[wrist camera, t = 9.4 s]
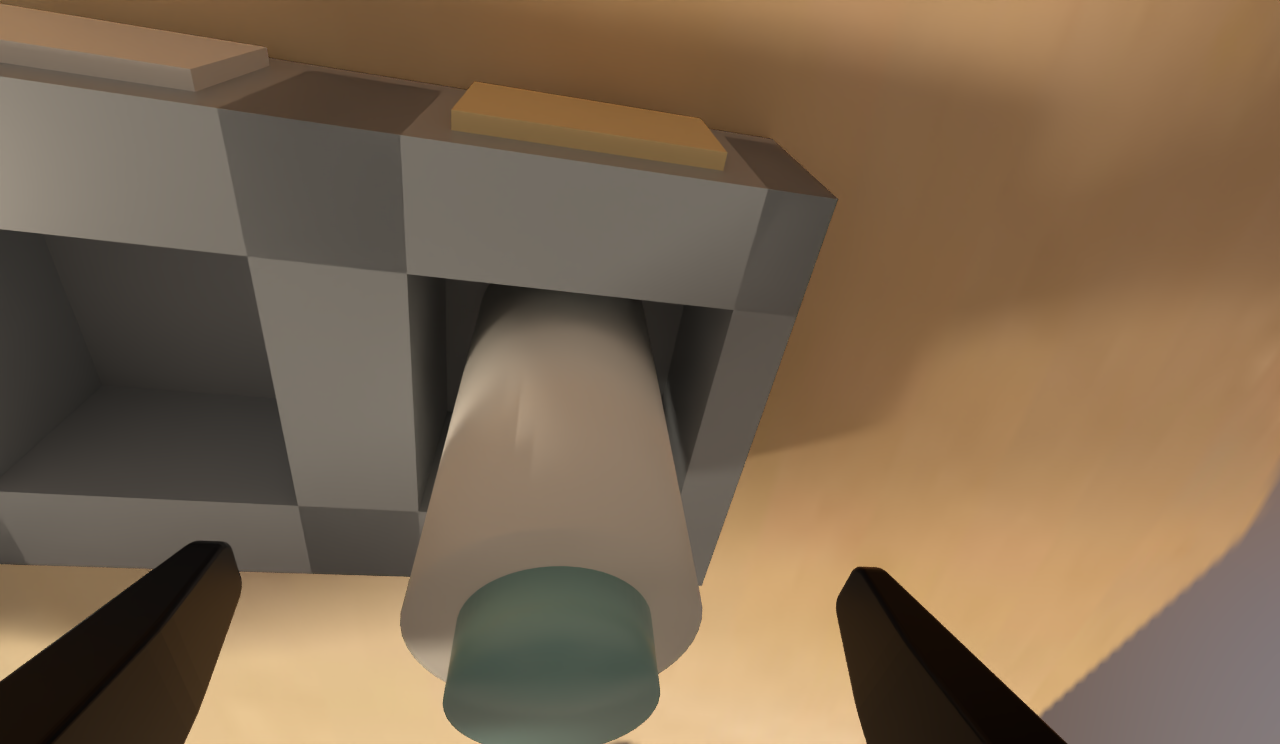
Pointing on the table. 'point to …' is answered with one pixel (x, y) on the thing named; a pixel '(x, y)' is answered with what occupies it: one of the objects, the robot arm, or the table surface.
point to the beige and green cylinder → (553, 528)
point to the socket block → (339, 288)
